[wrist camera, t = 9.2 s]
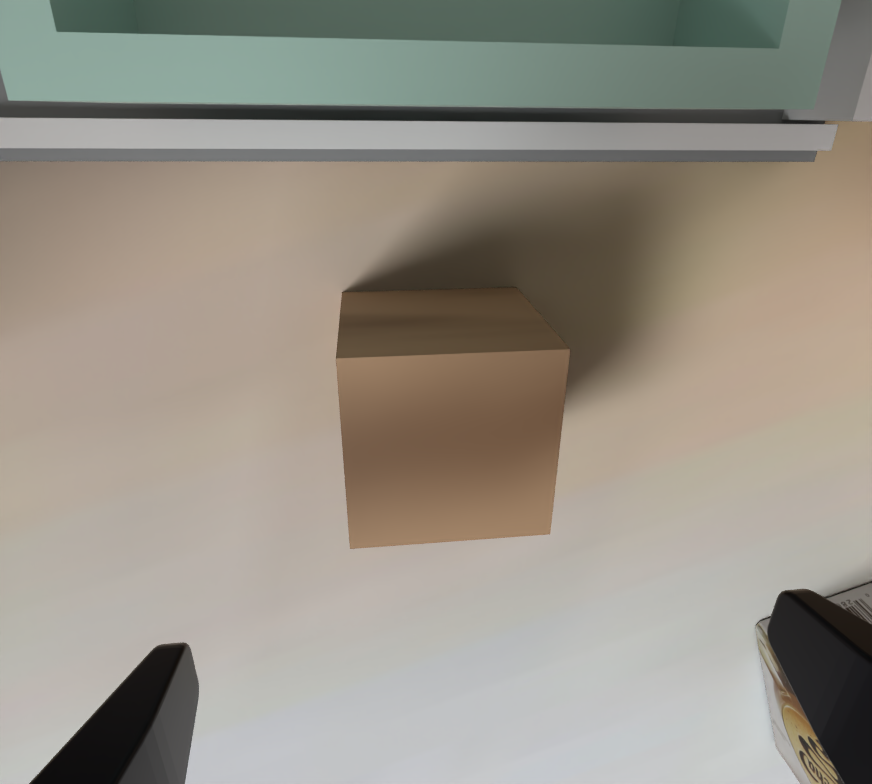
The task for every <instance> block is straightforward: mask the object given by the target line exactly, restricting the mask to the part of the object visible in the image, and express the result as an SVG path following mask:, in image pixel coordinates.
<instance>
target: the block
mask: <svg viewBox="0 0 872 784" xmlns="http://www.w3.org/2000/svg"><path fill="white" fill-rule="evenodd" d="M569 357H570V348H569V347H568V346H567V345H566V344H565V343H564V341H563V340H562V339H561V338H560V337H559V336H558V335H557V333H556V332H555V331H554V330H553V329H552V328H551V326H550V325H549V324H548V323H547V322H546V321H545V320H544V318H543V317H542V316H541V315H540V314H539V313H538V312H537V310H536V309H535V308H534V307H533V306H532V305H531V304H530V302H529V301H528V300H527V299H526V298H525V297H524V296H523V294H522V293H521V292H520V291H519V290H518V289H517V287H505V288H470V289H434V290H399V291H364V292H342V300H341V310H340V321H339V332H338V342H337V353H336V366H337V379H338V393H339V406H340V420H341V433H342V447H343V460H344V474H345V487H346V501H347V514H348V528H349V541H350V549H355V548H368V547H382V546H396V545H409V544H423V543H437V542H450V541H464V540H477V539H491V538H505V537H518V536H532V535H545V534H550V530H551V521H552V512H553V502H554V493H555V484H556V475H557V466H558V457H559V448H560V439H561V430H562V421H563V412H564V402H565V393H566V384H567V375H568V366H569Z"/></svg>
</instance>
